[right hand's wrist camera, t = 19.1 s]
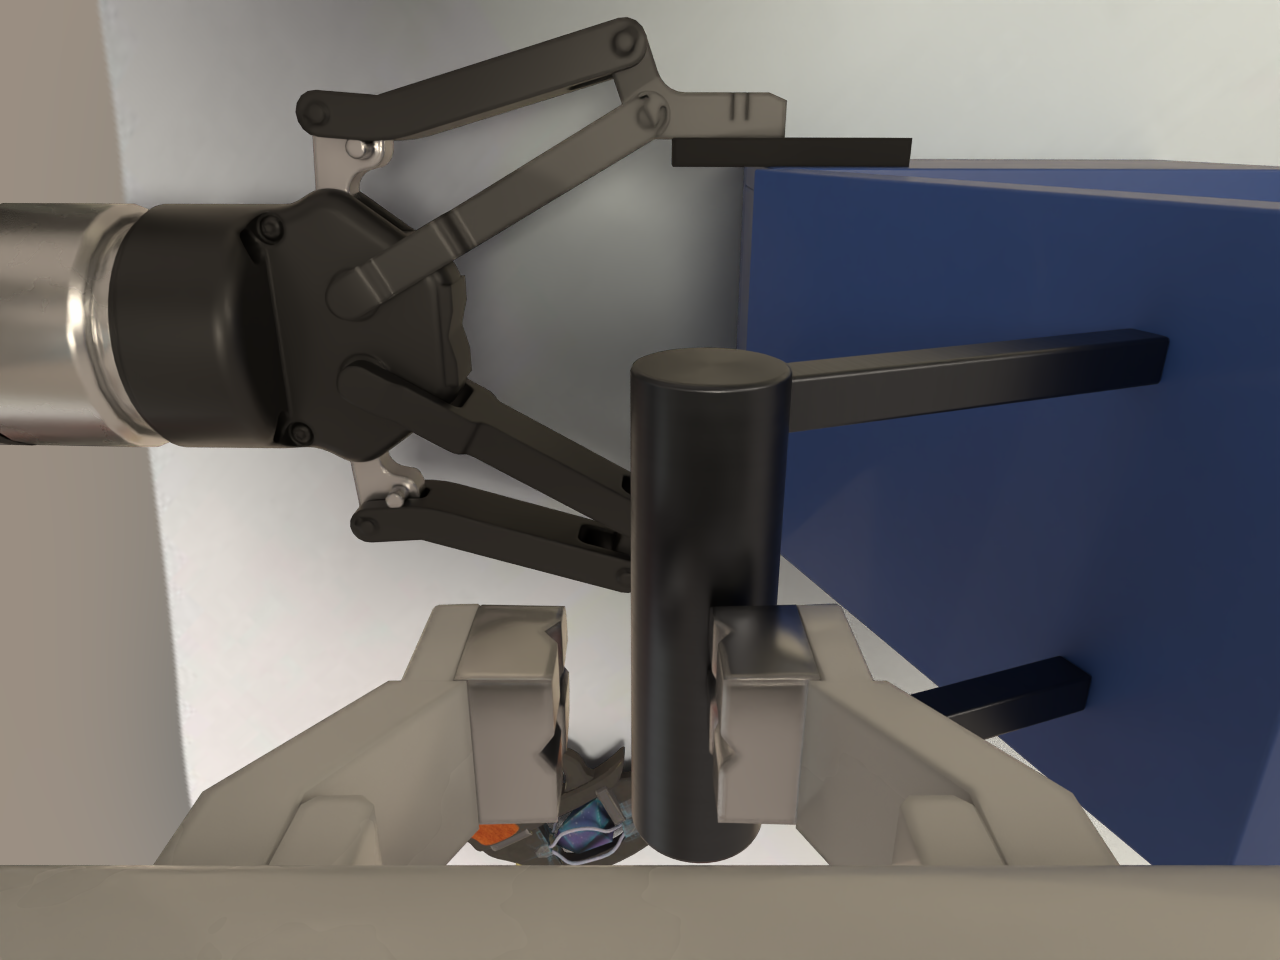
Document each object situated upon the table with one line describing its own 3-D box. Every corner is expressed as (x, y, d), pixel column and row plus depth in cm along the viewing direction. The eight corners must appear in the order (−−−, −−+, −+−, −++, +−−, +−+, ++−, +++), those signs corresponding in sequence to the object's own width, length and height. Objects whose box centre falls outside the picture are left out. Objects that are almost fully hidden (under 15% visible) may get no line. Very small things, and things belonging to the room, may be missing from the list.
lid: (1519, 218, 9) (786, 258, 6) (1273, 893, 13) (731, 1127, 10) (797, 168, 23) (442, 173, 19) (774, 513, 26) (473, 563, 23)
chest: (1157, 159, 31) (1334, 169, 23) (1102, 423, 34) (1236, 512, 26) (744, 158, 31) (772, 167, 23) (733, 419, 35) (753, 506, 27)
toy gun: (356, 782, 39) (469, 949, 41) (737, 600, 36) (836, 787, 38) (375, 749, 41) (480, 907, 44) (731, 578, 39) (824, 754, 41)
